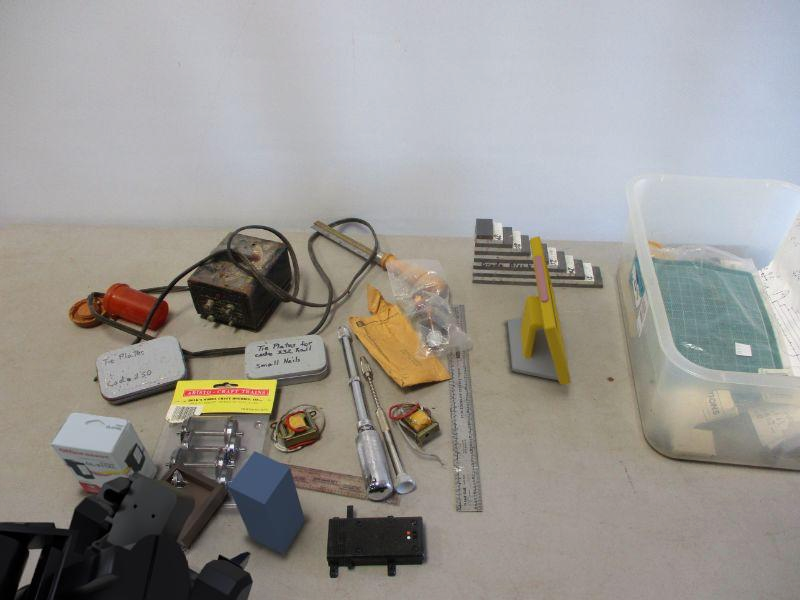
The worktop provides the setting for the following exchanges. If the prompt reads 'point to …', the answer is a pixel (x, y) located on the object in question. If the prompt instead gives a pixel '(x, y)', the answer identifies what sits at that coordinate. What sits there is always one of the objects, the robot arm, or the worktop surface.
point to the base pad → (197, 500)
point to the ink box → (101, 450)
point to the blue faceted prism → (268, 502)
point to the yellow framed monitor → (539, 329)
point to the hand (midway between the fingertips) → (212, 537)
